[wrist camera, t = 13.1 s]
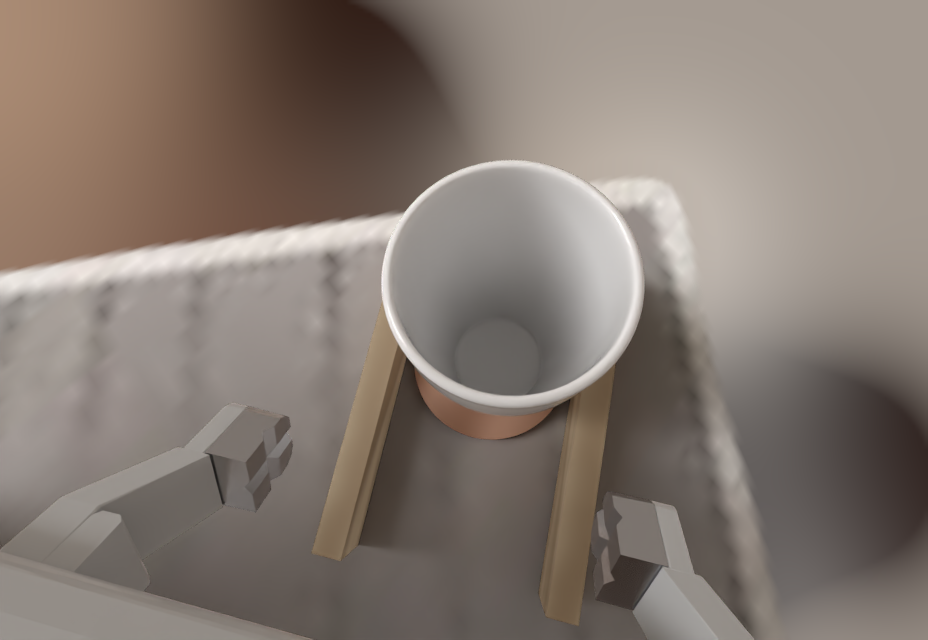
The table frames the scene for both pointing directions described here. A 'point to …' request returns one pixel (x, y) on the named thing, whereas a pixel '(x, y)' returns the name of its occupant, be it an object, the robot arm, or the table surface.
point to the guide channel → (577, 456)
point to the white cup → (512, 286)
